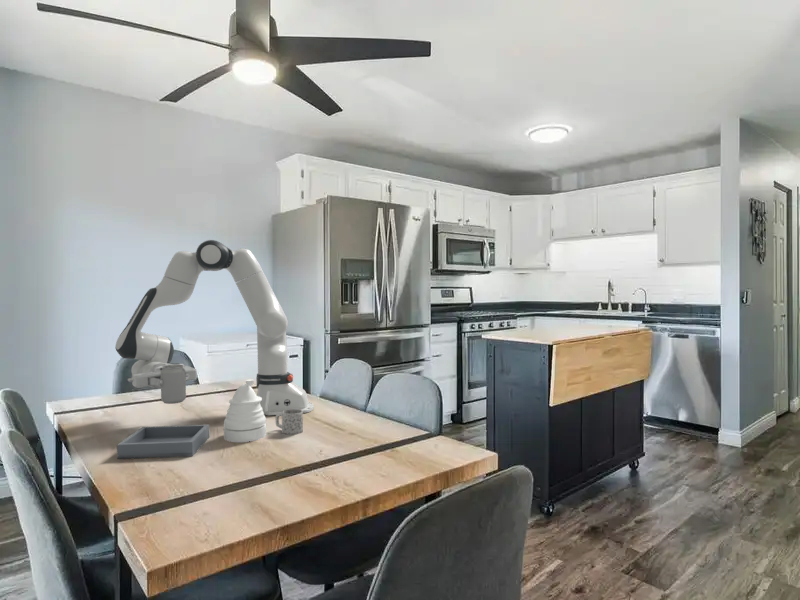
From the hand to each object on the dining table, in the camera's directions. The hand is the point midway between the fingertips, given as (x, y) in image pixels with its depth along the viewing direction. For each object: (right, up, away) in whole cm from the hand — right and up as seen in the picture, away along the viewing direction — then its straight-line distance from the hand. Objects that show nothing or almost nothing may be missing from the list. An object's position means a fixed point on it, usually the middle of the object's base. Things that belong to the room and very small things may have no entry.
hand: (174, 380), depth 168 cm
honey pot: (+25, -17, -6) cm, 31 cm away
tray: (+5, -17, -17) cm, 25 cm away
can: (-1, -7, +1) cm, 8 cm away
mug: (+38, -17, -1) cm, 41 cm away
